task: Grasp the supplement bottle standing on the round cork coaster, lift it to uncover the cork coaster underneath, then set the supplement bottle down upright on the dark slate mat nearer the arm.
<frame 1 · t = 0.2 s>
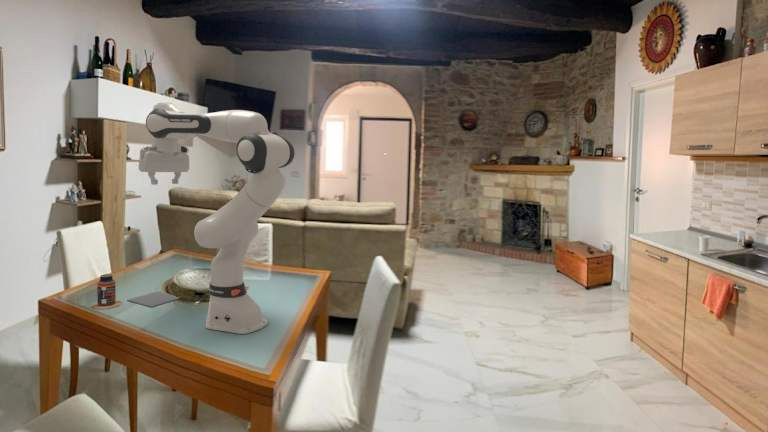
hand: (165, 184, 172), 48 cm above the table, tool pointing down, fingers open, 8 cm apart
slate mat: (154, 299, 184), on the table
supplement bottle: (106, 304, 175), resting on cork coaster
cork coaster: (106, 304, 175), on the table
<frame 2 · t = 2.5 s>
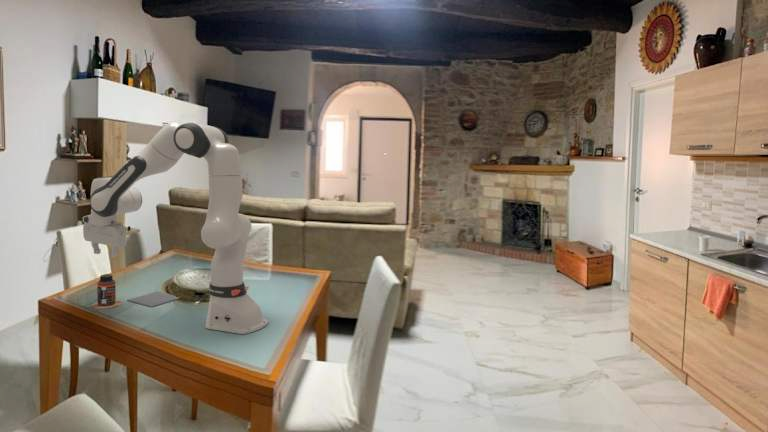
hand: (105, 255, 173), 19 cm above the table, tool pointing down, fingers open, 8 cm apart
nothing on the table moved.
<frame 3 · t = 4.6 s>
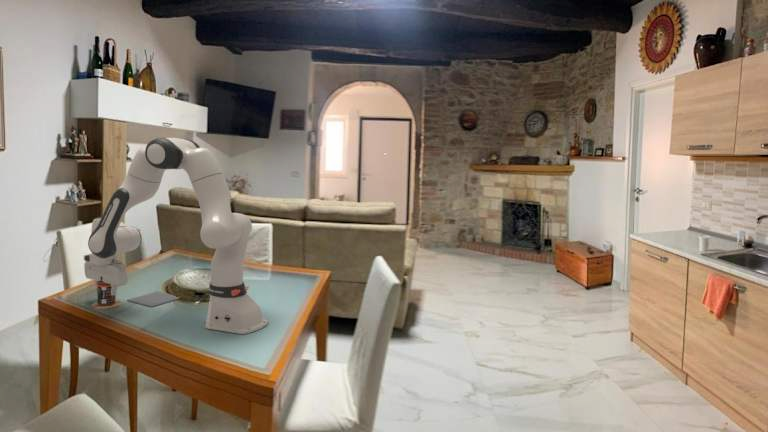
hand: (106, 293, 175), 5 cm above the table, tool pointing down, fingers closed on supplement bottle, 6 cm apart
supplement bottle: (106, 304, 175), resting on cork coaster, touching gripper
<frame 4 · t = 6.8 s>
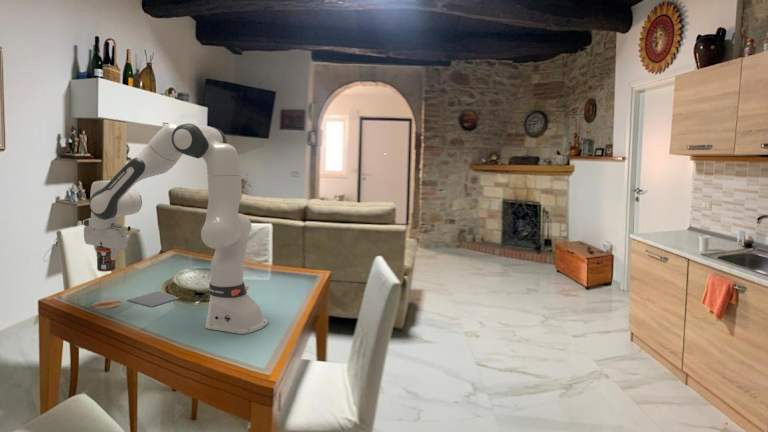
hand: (106, 258, 173), 18 cm above the table, tool pointing down, fingers closed on supplement bottle, 6 cm apart
supplement bottle: (106, 270, 173), point 14 cm above the table, touching gripper
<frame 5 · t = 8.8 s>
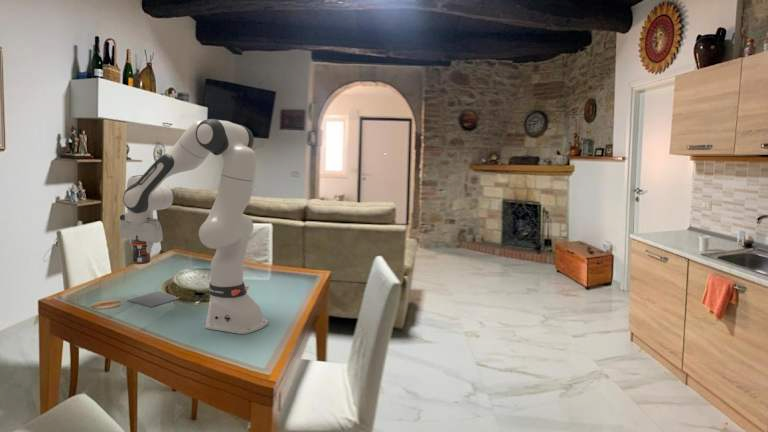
hand: (141, 251, 179), 20 cm above the table, tool pointing down, fingers closed on supplement bottle, 6 cm apart
supplement bottle: (141, 263, 179), point 15 cm above the table, touching gripper
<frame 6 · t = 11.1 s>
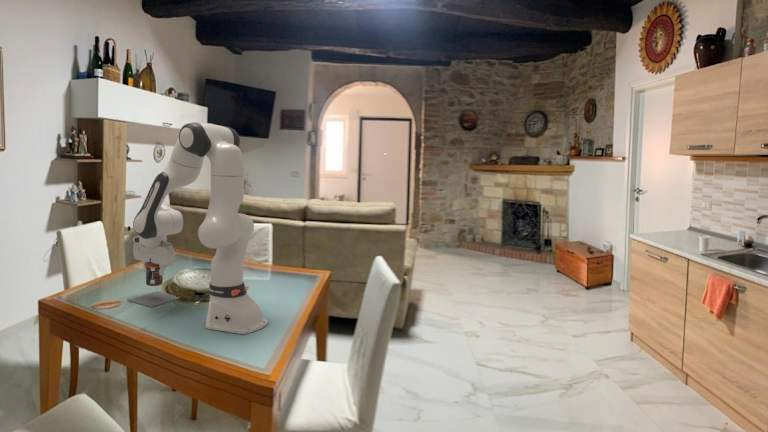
hand: (154, 273, 183), 11 cm above the table, tool pointing down, fingers closed on supplement bottle, 6 cm apart
supplement bottle: (154, 284, 183), point 6 cm above the table, touching gripper
when the fingers open (6 cm above the table, at t = 13.0 s): supplement bottle stays where it is, resting on slate mat.
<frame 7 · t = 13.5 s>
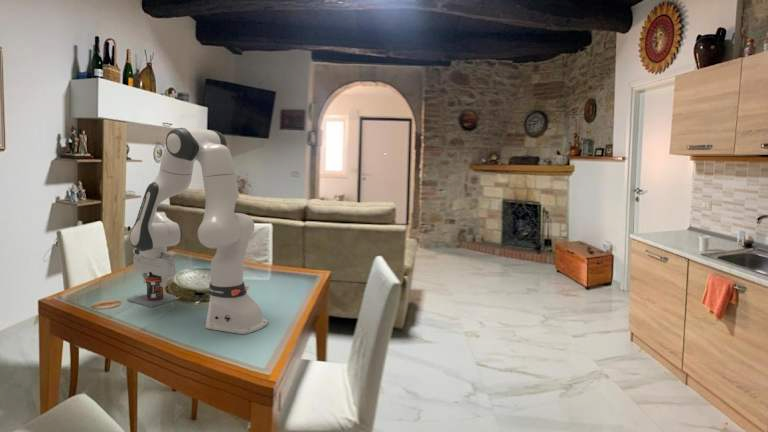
hand: (154, 284, 183), 6 cm above the table, tool pointing down, fingers open, 8 cm apart
supplement bottle: (155, 298, 184), resting on slate mat
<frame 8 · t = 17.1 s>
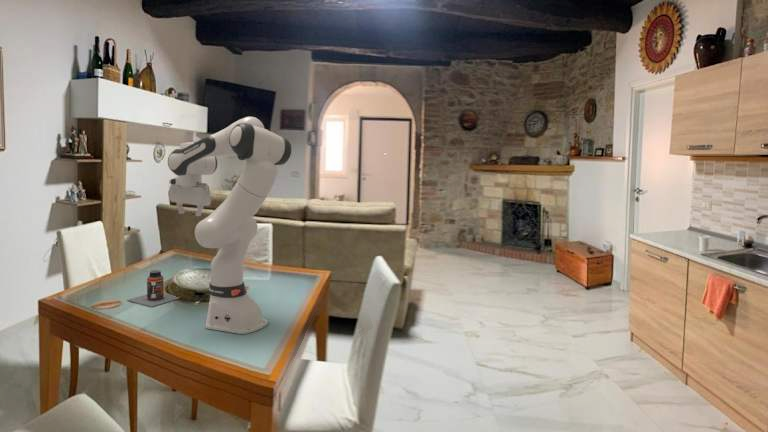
hand: (189, 214, 189), 34 cm above the table, tool pointing down, fingers open, 8 cm apart
nothing on the table moved.
at the end: supplement bottle inside the target area on the slate mat (0.3 cm from its centre), point 0.3 cm above the slate mat's base; supplement bottle tilted 1°; the gripper is holding nothing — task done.
